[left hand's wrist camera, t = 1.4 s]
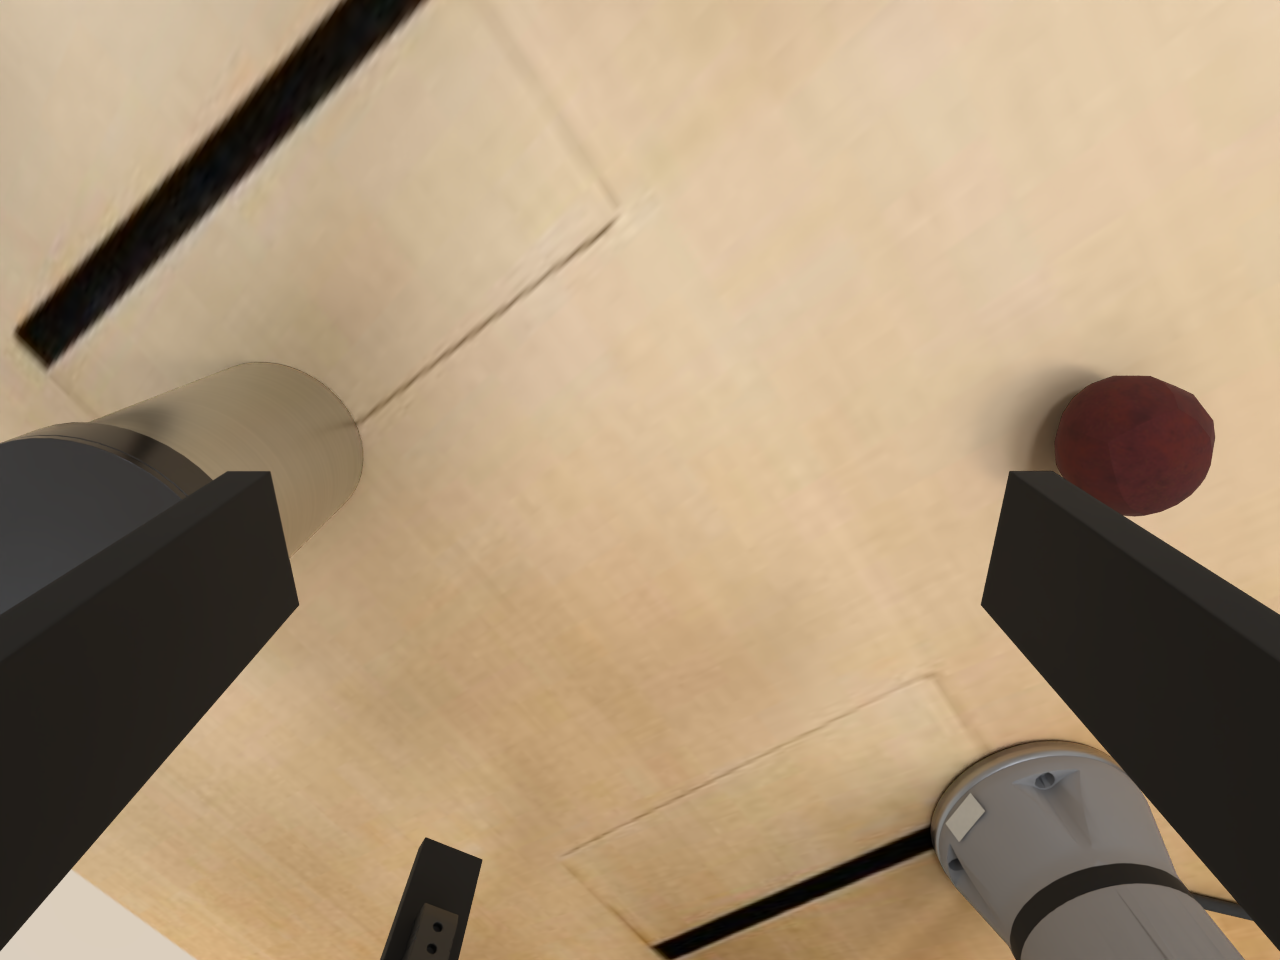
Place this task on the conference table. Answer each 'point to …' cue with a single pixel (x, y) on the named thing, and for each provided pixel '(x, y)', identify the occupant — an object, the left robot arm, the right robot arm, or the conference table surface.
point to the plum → (1135, 443)
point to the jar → (261, 437)
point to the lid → (79, 498)
